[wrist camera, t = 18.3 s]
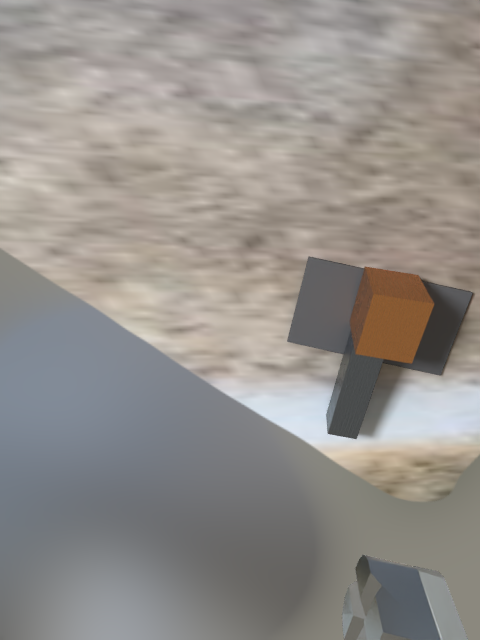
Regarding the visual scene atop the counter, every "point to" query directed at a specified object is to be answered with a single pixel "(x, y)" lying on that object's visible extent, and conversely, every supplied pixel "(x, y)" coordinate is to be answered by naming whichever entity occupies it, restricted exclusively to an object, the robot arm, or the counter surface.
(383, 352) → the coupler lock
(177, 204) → the counter surface
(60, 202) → the counter surface
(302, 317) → the rubber mat
